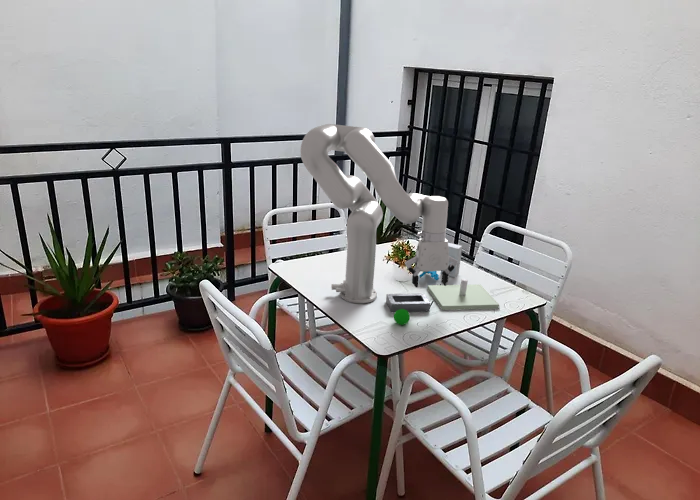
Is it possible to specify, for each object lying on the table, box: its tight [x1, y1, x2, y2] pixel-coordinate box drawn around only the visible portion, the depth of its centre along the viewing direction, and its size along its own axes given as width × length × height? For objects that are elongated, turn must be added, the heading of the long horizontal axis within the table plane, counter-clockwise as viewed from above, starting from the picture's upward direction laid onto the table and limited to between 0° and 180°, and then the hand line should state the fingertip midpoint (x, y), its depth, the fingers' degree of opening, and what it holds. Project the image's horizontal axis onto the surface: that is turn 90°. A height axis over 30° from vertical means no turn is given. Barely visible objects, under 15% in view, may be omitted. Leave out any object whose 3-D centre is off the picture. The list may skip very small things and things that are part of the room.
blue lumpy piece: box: [418, 271, 440, 281], centre depth 187 cm, size 11×6×10 cm
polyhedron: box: [393, 309, 411, 326], centre depth 152 cm, size 5×5×5 cm
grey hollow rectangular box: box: [385, 292, 432, 314], centre depth 163 cm, size 13×7×3 cm, turn 99°
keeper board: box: [427, 278, 500, 311], centre depth 170 cm, size 20×16×7 cm
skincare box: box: [440, 242, 463, 278], centre depth 189 cm, size 6×4×12 cm
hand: (429, 285), depth 161 cm, fingers open, 9 cm apart
